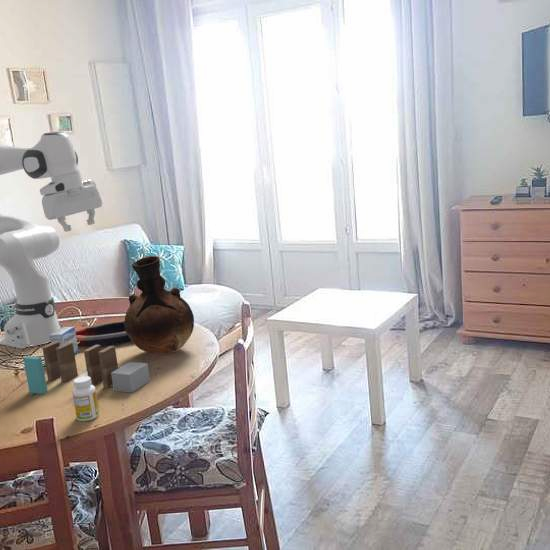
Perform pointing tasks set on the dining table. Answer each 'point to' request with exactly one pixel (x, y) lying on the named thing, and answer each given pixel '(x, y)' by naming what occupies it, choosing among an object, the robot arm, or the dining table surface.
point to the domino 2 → (51, 360)
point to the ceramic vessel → (157, 312)
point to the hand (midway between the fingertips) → (79, 227)
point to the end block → (130, 377)
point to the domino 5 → (108, 364)
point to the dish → (102, 335)
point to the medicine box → (65, 337)
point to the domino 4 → (93, 364)
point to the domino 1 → (35, 374)
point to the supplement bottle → (85, 399)
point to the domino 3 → (66, 362)
